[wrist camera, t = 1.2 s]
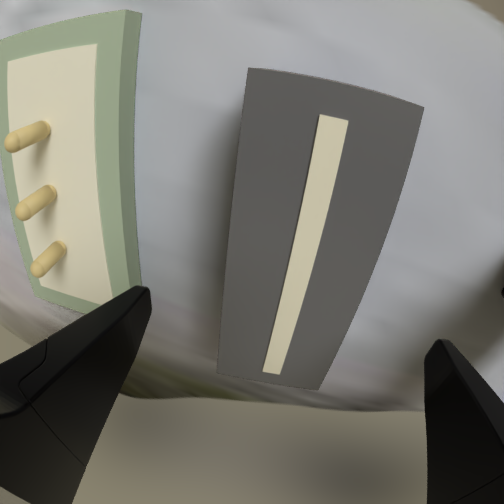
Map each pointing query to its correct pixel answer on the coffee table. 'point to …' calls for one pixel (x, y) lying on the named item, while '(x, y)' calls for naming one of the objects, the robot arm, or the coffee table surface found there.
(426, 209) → the coffee table surface
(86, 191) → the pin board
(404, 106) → the panel
